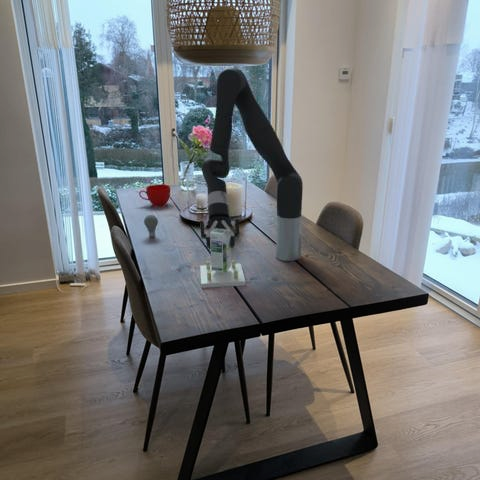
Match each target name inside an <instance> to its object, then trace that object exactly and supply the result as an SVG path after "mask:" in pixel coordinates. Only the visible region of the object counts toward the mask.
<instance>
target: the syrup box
mask: <svg viewBox="0 0 480 480" xmlns="http://www.w3.org/2000/svg"><path fill="white" fill-rule="evenodd" d="M231 231H232V230H231ZM231 231H230V230H227V229H218V228H216V229H214V230H213V231H212V232H211V233H210V245H211V249H210V265H211V271H216V272H223V273H226V272H227V271H228V270H229V268H230V267H231V261H232V251H231V250H232V249H231Z"/></svg>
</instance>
